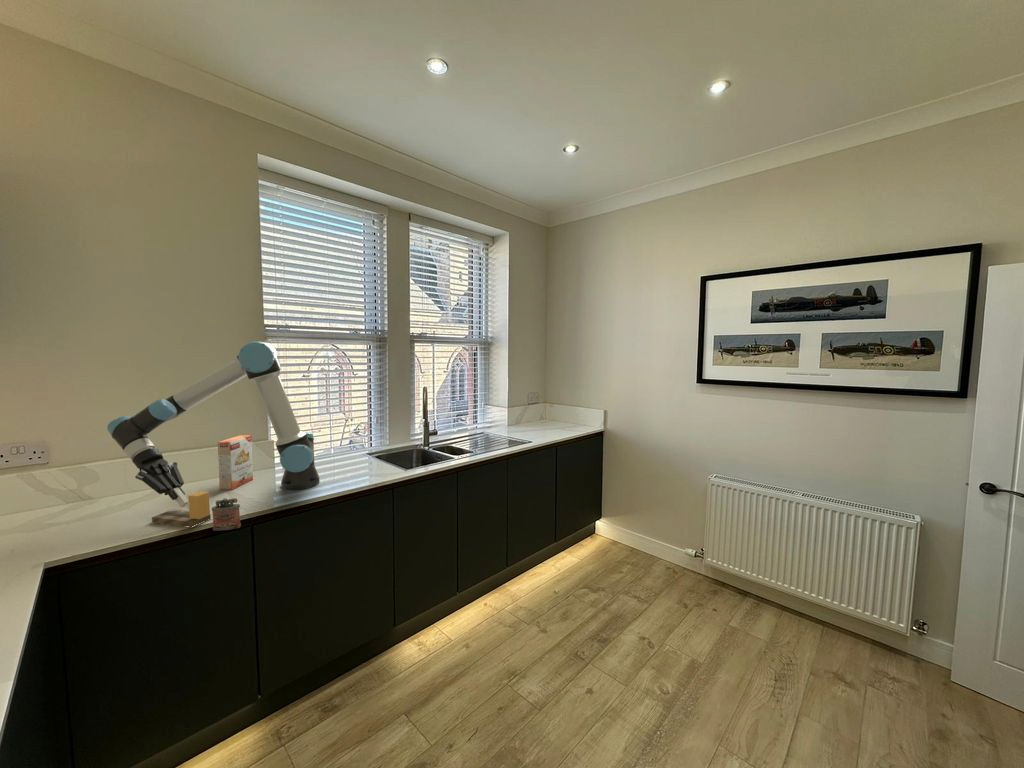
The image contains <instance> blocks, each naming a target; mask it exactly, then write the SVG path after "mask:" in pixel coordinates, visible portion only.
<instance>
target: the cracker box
mask: <svg viewBox="0 0 1024 768" xmlns="http://www.w3.org/2000/svg"><path fill="white" fill-rule="evenodd" d="M252 445H253V443H252V435H248V434H246V435H243V434H242V435H237V436H233V437H230V438H227V439H224V440H221V441H217V455H218V456H217V457H218V476H219V477H218V478H219V490H228V491H229V490H234V489H237V488H239V487H240V486H242V485H245V484H247V483H248V482H251V481H253V480H254V474H253V473H254V470H253V446H252Z"/></svg>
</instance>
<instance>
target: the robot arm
mask: <svg viewBox="0 0 1024 768" xmlns="http://www.w3.org/2000/svg"><path fill="white" fill-rule="evenodd" d="M278 357H279V356H278V352H277V349H276V347H274V345H272V344H271V343H269V342H267V341H261V340H255V341H250V342H247V343H246V344H244V345H242V347H241V349H240V350H239V351H238V355H237V356H235V359H234V360H233V361H231V362H229V363H228V364H226V365H224V366H223V367H221V368H219V369H217V370H215V371H214V372H211V373H210V374H209V375H206V376H205V377H202V378H201V379H199V380H197V381H196V382H195V381H194V383H192V384H190V385H189V386H187V387H185V388H183V389H182V390H180V391H177V392H176V393H174V394H172V395H171V396H168V398H158V399H157V400H156V401H154V402H151V403H150V404H149V405H147V406H146V407H145V408H143V409H142V410H141V411H139V412H138V413H136V414H135V415H133V416H129V415H124V416H119V417H118V418H114V419H113V420H111V421H110V422H109V423H108V424H107V426H106V429H107V431H108V432H109V434H110V436H111V438H112V439H113V440H114V441H115V442H116V443H117V445H119V446H120V447H119V448H121V449H122V451H123V452H124V453H125V454H126V456H127V457H128V458H129V459H130V460H131V461H132V463H133V464H134V466H135V467H136V468H137V469H139V471H138V472H137V474H136V475H135V479H137V480H140V481H142V483H144V484H145V485H147V486H148V487H150V488H151V489H152V490H154V491H155V492H156V493H158V494H159V495H162V494H164V495H165V496H168V497H170V500H172V501H175V502H176V504H178V506H179V507H180V508H184V507H186V506H187V505H188V504H189V501H188V497H187V496H186V493H185V491H184V490H183V488H182V486H183V485H184V484H185V481H184V479H183V477H182V475H181V472H180V470H179V469H178V462H176V461H174V462H173V463H172V462H169V461H167V460H166V459H165V458H164V456H163V454H162V453H161V452H160V450H159V449H158V448H157V446H156V445H155V444H154V443H153V442H152V440H151V439H150V438H149V437H148V434H149V433H151V432H152V431H154V430H155V429H157V428H158V427H160V426H161V425H163V424H165V423H167V422H168V421H171V420H174V419H175V418H178V417H179V416H180V415H182V414H183V413H185V412H187V411H188V410H190V409H191V408H194V407H195V406H197V405H198V404H201V403H203V402H204V401H206V400H208V399H209V398H211V397H213V396H215V395H216V394H218V393H220V392H221V391H223V390H225V389H226V388H229V387H230V386H231V385H233V384H235V383H237V382H239V381H240V380H242V379H244V378H246V377H247V379H248V380H249V381H251V382H253V383H254V384H255V386H256V388H257V392H258V393H259V395H260V397H261V398H260V399H261V400H262V401H261V402H263V405H264V408H265V411H266V413H267V416H268V418H269V421H270V423H271V425H272V428H273V431H274V433H275V436H276V438H277V440H276V442H275V444H274V445H275V447H276V450H277V452H278V454H279V463H280V464H281V467H282V468H283V469H284V471H283V475H282V477H281V482H280V485H281V486H280V487H281V489H284V490H291V491H294V490H305V489H309V488H312V487H314V486H317V485H318V484H320V475H319V472H318V470H317V468H316V466H315V444H314V443H315V442H314V441H315V438H314V434H313V433H312V432H304V431H301V429H300V426H299V424H298V421H297V418H296V416H295V413H294V410H293V408H292V405H291V403H290V400H289V398H288V395H287V393H286V392H287V391H285V388H284V384H283V382H282V380H281V377H280V375H281V373H282V368H281V365H280V363H279V359H278Z"/></svg>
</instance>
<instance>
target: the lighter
mask: <svg viewBox="0 0 1024 768" xmlns="http://www.w3.org/2000/svg"><path fill="white" fill-rule="evenodd" d="M237 502H238V498H236V497H235V498H229V499H227V498H223V499H217V500H215V506H212V507H211V511H212V524H213V525H212V531H228V530H234V529H239V528H241V527H242V523H241V517H240V516H241V514H240V508H241V505H240V504H239V503H237Z"/></svg>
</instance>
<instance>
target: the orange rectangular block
mask: <svg viewBox="0 0 1024 768" xmlns="http://www.w3.org/2000/svg"><path fill="white" fill-rule="evenodd" d="M187 496H188V497H187V499H188V501H189V502H188V511H189V515H190V518H193V519H201V518H203V517H206V516H208V515H210V514H211V509H210V508H211V507H210V505H211V504H210V493H209V492H207V491H197V492H193V493H190V494H189V495H187Z"/></svg>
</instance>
